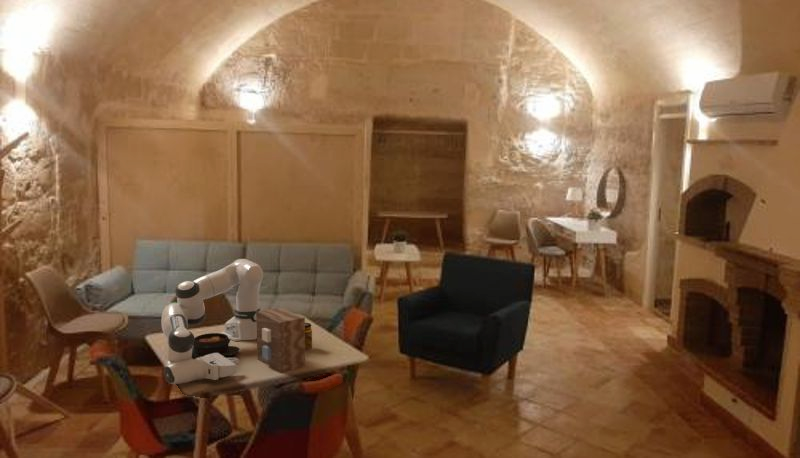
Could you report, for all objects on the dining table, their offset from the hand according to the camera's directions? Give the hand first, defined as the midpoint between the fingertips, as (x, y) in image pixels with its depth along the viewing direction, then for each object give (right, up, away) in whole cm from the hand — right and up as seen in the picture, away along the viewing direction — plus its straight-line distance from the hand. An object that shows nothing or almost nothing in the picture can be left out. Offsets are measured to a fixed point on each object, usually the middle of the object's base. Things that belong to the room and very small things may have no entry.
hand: (237, 360), depth 266 cm
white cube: (+12, +7, +9) cm, 16 cm away
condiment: (+23, -2, +34) cm, 41 cm away
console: (+16, -4, +14) cm, 21 cm away
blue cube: (+12, -1, +10) cm, 15 cm away
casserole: (-18, -3, +23) cm, 30 cm away
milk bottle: (-41, 0, +40) cm, 57 cm away
